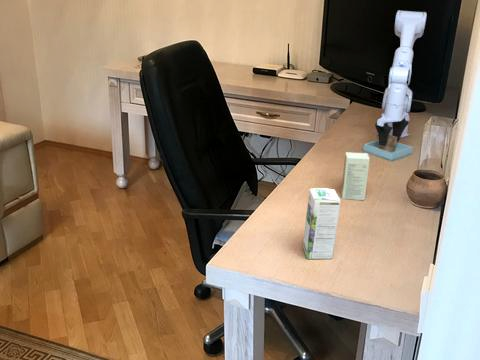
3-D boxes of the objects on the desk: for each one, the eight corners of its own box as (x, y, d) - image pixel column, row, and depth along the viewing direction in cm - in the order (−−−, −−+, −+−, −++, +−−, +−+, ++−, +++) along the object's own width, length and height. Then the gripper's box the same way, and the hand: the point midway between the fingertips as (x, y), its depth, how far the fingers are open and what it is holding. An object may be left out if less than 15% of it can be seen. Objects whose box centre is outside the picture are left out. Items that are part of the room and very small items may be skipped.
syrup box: (301, 246, 119) (307, 187, 113) (327, 246, 120) (334, 187, 114) (306, 259, 114) (313, 199, 108) (333, 259, 114) (341, 199, 109)
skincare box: (363, 194, 146) (369, 153, 141) (364, 200, 142) (371, 158, 137) (339, 192, 147) (345, 151, 142) (340, 199, 143) (346, 156, 138)
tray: (383, 144, 186) (384, 137, 185) (411, 154, 178) (413, 147, 177) (362, 151, 178) (363, 144, 177) (391, 161, 171) (393, 154, 170)
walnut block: (384, 147, 181) (387, 133, 179) (395, 151, 178) (397, 137, 176) (378, 150, 178) (380, 136, 176) (388, 153, 175) (390, 139, 173)
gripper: (397, 97, 178) (391, 135, 184) (371, 103, 169) (366, 143, 175) (415, 102, 174) (408, 141, 179) (390, 108, 165) (383, 149, 170)
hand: (388, 142), depth 177 cm, fingers open, 7 cm apart
